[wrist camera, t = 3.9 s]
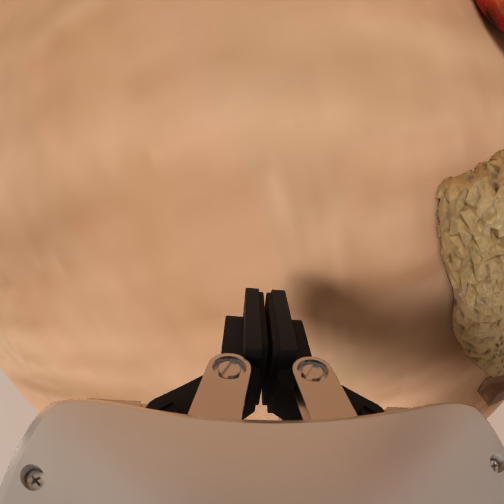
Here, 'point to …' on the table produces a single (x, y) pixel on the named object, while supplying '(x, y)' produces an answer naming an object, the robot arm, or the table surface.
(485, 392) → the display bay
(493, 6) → the apple
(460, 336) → the sponge
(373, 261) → the table surface
